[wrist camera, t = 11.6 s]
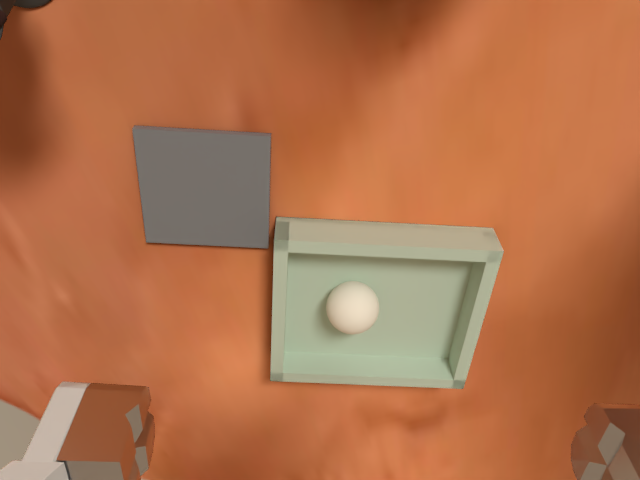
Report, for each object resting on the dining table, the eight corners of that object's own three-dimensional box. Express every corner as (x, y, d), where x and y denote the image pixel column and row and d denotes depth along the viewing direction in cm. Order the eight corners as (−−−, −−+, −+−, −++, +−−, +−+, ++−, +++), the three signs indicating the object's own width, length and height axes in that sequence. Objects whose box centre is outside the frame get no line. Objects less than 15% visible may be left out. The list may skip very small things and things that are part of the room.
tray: (493, 227, 43) (503, 251, 41) (455, 362, 51) (463, 388, 49) (276, 216, 43) (274, 239, 40) (272, 354, 51) (270, 381, 48)
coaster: (271, 133, 39) (270, 136, 39) (268, 244, 44) (268, 248, 44) (134, 125, 39) (132, 128, 38) (147, 238, 44) (146, 242, 43)
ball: (390, 282, 44) (368, 313, 41) (384, 321, 46) (362, 353, 43) (343, 263, 45) (318, 292, 42) (339, 302, 48) (315, 332, 45)
